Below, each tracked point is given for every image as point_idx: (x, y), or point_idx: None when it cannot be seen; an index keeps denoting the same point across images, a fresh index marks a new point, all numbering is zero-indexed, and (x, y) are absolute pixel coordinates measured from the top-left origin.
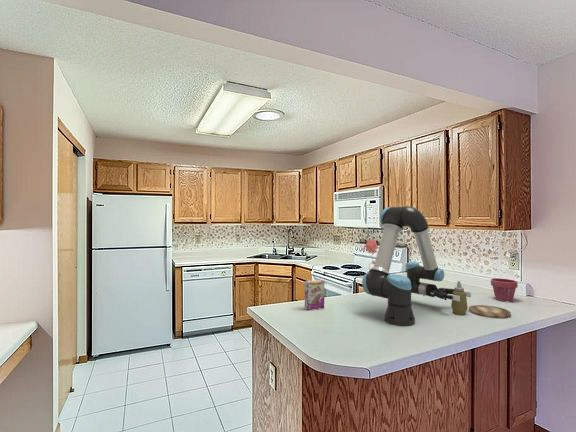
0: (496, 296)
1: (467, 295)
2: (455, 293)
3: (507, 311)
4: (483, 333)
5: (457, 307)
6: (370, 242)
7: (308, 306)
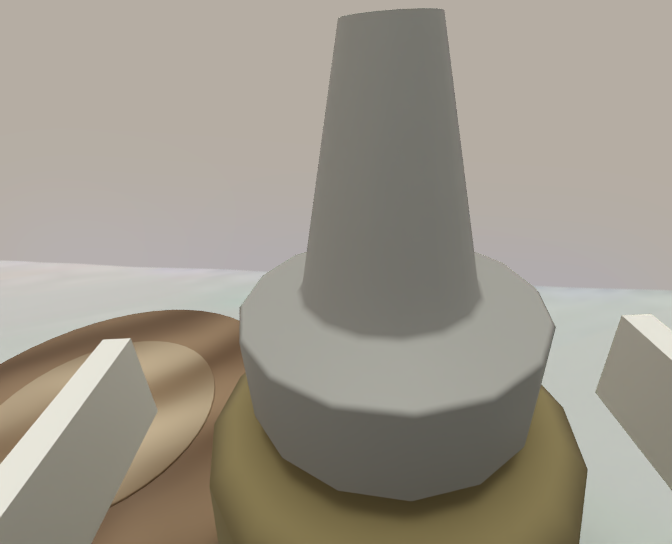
0: None
1: (124, 440)
2: (573, 440)
3: (87, 334)
4: (648, 297)
5: None
6: None
7: None
